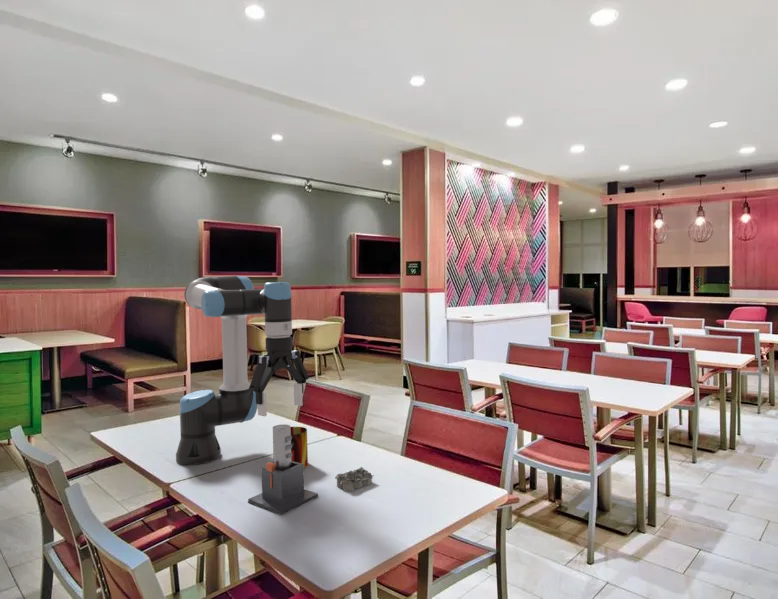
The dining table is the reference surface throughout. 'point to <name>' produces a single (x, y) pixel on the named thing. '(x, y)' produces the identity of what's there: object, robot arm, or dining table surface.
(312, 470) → the dining table surface
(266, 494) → the stand
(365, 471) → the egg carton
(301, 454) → the mug
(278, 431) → the column
